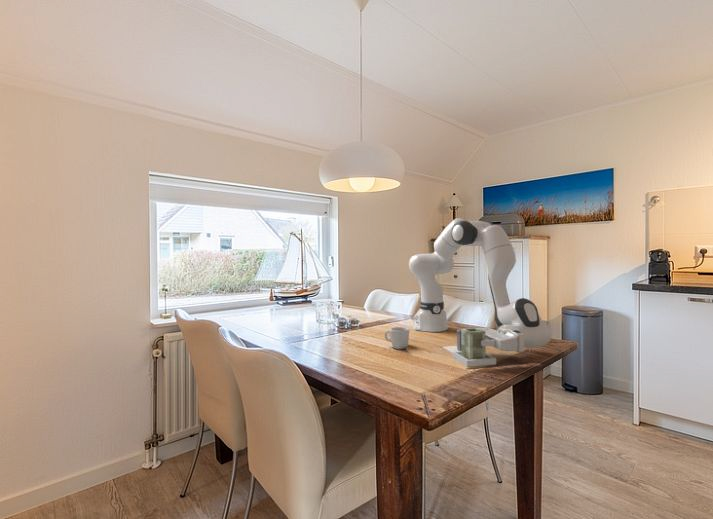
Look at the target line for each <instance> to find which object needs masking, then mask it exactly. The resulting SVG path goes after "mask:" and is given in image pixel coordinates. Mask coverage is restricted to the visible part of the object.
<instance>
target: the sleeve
mask: <svg viewBox="0 0 713 519" xmlns="http://www.w3.org/2000/svg"><path fill="white" fill-rule="evenodd" d="M478 328H479V327H469V328H465V327H464V328H460V329H461V344H462V356H463V357H464V358H466V359H468V360H471V359H483V358H486V354H487V353H486V347H487V346H482V345H480V340H485V331H483V330H481V329H478Z"/></svg>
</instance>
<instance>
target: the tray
mask: <svg viewBox="0 0 713 519" xmlns="http://www.w3.org/2000/svg"><path fill="white" fill-rule="evenodd" d="M451 358H452V359H454V360H455V361H457V362H459V363H460V364H462V365H463V366H465V367H466V370H477V369H478V370H479V369H489V368H497V358H496V357H495V356H492V355H490V354H488V353H486V358H483V359H471V360H468V359H466V358H464V357H463V356H462V351H457V352H452V353H451Z"/></svg>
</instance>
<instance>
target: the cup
mask: <svg viewBox="0 0 713 519" xmlns="http://www.w3.org/2000/svg"><path fill="white" fill-rule="evenodd" d="M388 334H389V335H390V338H388ZM409 338H410V328H409V327H405V326H404V327H403V326H394V327H391V328H390V329H389V330H386V331H385V332H384V339H385V340H386V341H387V342H390V343H391V346H392V348H394V349H397V350H404V349H406V348H407V347H408V346H409V340H410V339H409Z"/></svg>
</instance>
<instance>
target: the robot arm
mask: <svg viewBox="0 0 713 519" xmlns="http://www.w3.org/2000/svg"><path fill="white" fill-rule="evenodd" d="M461 246H467V247H468V246H470V247H478V246H480V247H481V249H482V251H483V254H484V257H485V261H486V265H487V266H486V267H487V277H488V278H487V279H488V284H489V290H490V294H491V298H492V301H493V306H494V321H495V324H496V325H497V327H498V329H493V328H491V327H490V328H489V327H477V328H478V329H481V330H483V331H485V340H480V345H482V346H486V347H493V348H495V349H497V350H499V351H502V352H516V353H524V350H525V349H534V348H539V347H544V346H546V345H547V344H549V343H550V341H551V339H552V330H551V328H550V326H549V325H548V324H547V323H545V321H543V319H542V318H541V316H540V314H539V310H538V307H537V306H536V304H535V303H534V302H533V301H531V300H530V299H529V298H524V297H523V298H518V299H516V300H515V301H512V302H511V301H510V298H509V293H508V289H507V280H508V278H509V275H510V273H511V272H512V271H513V269H514V267H515V265H516V262H517V258H516V256H517V255H516V252H515V249H514V247H513V244H512V242H511V240H510V238H509V236H508V234H507V233H506V231H505V229H504V228H503V226H501V225H498V224H495V223H492V222H490V221H481V220H466V219H465V218H461V217H458V218H454V219H452V221H450V222H449V223H448V224H447V225H446V226H445V228H443V230H442V231H441V233H440V234H439V235H438V237H436V240H435V241H434V243H433V248H434V252H431V253H418V254H415V255H412V256H411V257H410V258H409V261H408V268H409V271H410V272H411V273H412V274H413V275H414V276H415V277H416V279H417V281H418V284H419V287H420V302H419V309H418V310H417V311H416V313H415V315H413V317H412V319H413V322H410V325H411V327H412V328H413V330H414V331H419V332H421V331H423V332H429V333H430V332H431V333H435V332H436V333H439V332H445V331H446V330H448V329H450V325H448V319H447V312H446V311H445V310H444V309H445V304H444V288H443V285H442V284H440V283H439V282H438V281H437V279H436V275H444V274H446V273H447V274H448V273H450V272H452V270H453V269H454V266H455V262H454V259H453V257H454V255H455V254H456V252H458V250H460V248H461ZM524 348H525V349H524Z"/></svg>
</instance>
